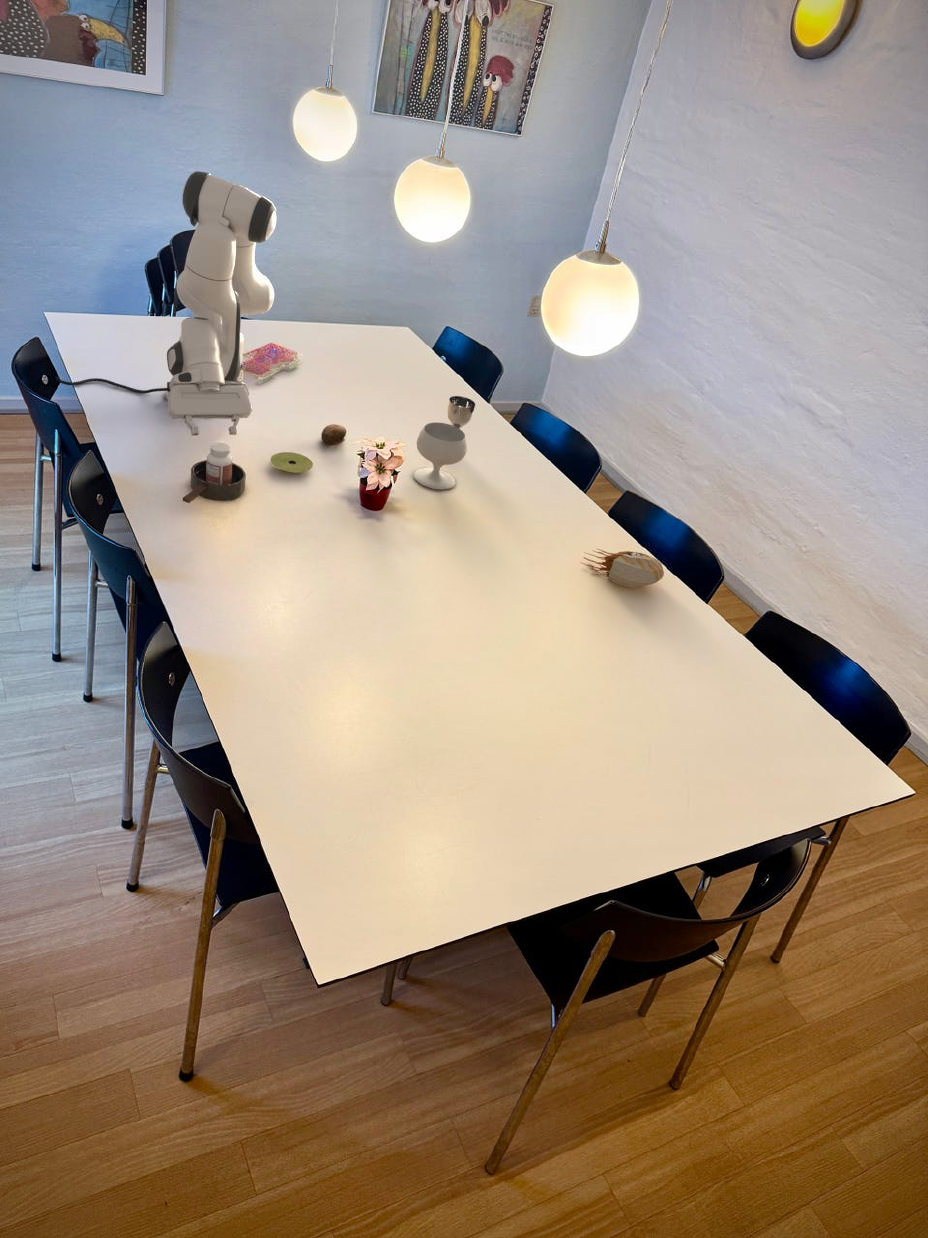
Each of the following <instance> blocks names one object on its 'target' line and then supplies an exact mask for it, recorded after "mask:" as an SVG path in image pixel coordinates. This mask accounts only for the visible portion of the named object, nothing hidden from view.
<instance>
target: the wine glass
mask: <svg viewBox="0 0 928 1238" xmlns="http://www.w3.org/2000/svg"><path fill="white" fill-rule="evenodd" d="M475 408H476V402H475V401H473V400H472V399H471V398H468V397H465V396H460V395H453V396H450V397H449V398H448V403H447V418H448V421H449V422H450V425H453V426H455V427H457V428H459V429H460V430H461V429H462V428H463V427H464V426H466V425H468V424H469V423H470V421H471V419H472V417H473V414H474V413H475Z"/></svg>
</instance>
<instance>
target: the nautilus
mask: <svg viewBox="0 0 928 1238" xmlns="http://www.w3.org/2000/svg"><path fill="white" fill-rule="evenodd" d="M597 550H598V551H595V550H591V551H592V552H594V553H597V554H600V555H603V556H597V555H594V554H591V553H588V552H583V553H584V554H587V555H590V556H593V557H596V558H597V559H601V561H602V560H603V561H602V562H599V561H596V560H592V559H589V558H587V557H585V556H583V559H584V560H586V561H588V562H591V563H594V564H597V565H599V566H600V567H598V566H594V565H592V564H586V563H583V562H581V561H579V562H580V563H581V564H583V565H584V566H587V567H590V568H591V570H592V571H595V572H596V573H597V574H596V573H595V574H593V575H595V576H596V575H597V576H600V575H602V576H605V578H606V577H607V581H610V582H613V583H616V584H617V585H621V586H624V587H628V588H633V589H634V588H643V587H647V586H651V585H652V586H653V585H654V584H657V582H659V581H660V580H662V579H663V577H664V576H665V571H664V568H663V563H662V562H661V561H660V560H658V558H656V557H654V556H651V555H648V554H645V553H643V552H638V551H630V550H626V551H625V550H624V551H619V552H615V553H613V552H607V551H605V550H603V549H599V548H597Z"/></svg>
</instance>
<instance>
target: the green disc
mask: <svg viewBox="0 0 928 1238" xmlns="http://www.w3.org/2000/svg"><path fill="white" fill-rule="evenodd" d="M270 463H271V465H272V466H274V467H275V468H277V469H279V470H280V471H281V470H282V471H284V472H288V473H304V472H307V471H309V470H311V469H312V468H313V466H314V464H313V463H314V462H313V461H312V459H310V458H309V457H308V456H305V455H303V454H300V453H297V452H291V451H283V452H277V453H275V454H273V455H272V456H271V457H270Z"/></svg>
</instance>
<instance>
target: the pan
mask: <svg viewBox="0 0 928 1238" xmlns="http://www.w3.org/2000/svg"><path fill="white" fill-rule="evenodd" d="M206 463H207V459H205V460H200V461H198V462H196V463H194V465H192V466H191V468H190V488H191V491H192V490H194V489H195V488H196V487H198V486H199V485H200V484H201V483H202V484H205V485H208V489H207V490H206V491H204V492H203V493H202V494H201V495H199V496H198V497H201V498H204V499H206V500H209V501H215V502H216V501H217V502H227V501H233V500H236V499H238V498H240V497H241V496H243V494H244V493H245V490H246V482H247V481H246V480H247V479H246V478H247V473H246V470H245V469H243V467H241V466H240V465H238V464H236V463H234V462H232V478H231V484H227V485H219V484H212V483H208V482H206Z"/></svg>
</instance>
